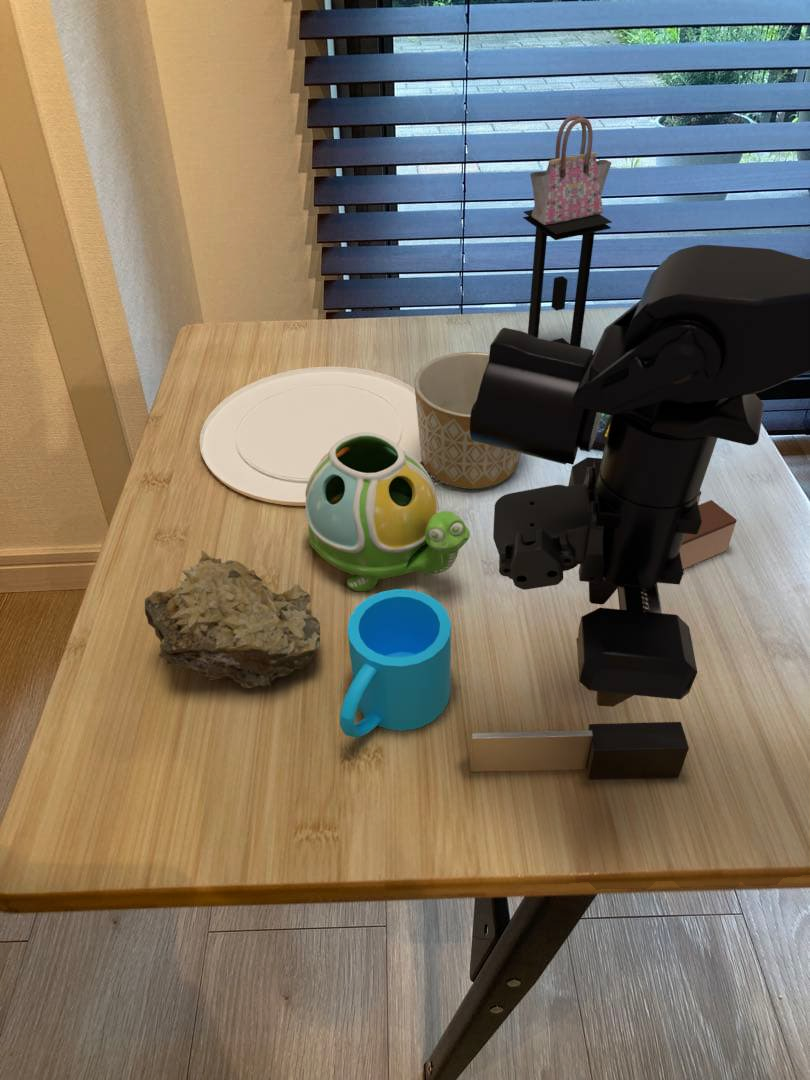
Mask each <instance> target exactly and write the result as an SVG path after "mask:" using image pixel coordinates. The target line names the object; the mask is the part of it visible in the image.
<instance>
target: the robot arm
mask: <svg viewBox="0 0 810 1080" xmlns="http://www.w3.org/2000/svg"><path fill="white" fill-rule="evenodd" d="M808 373H810V259H808V258H807V259H806V258H804V257H800V256H796V255H793V254H789V253H786V252H782V251H779V250H776V249H771V248H763V247H749V246H748V247H747V246H734V245H733V246H731V245H718V244H717V245H716V244H697V245H693V246H689V247H685V248H682V249H679V250H676V251H675V252H673V253H671V254H669V255H668V256H667V258H666V259H664V260H663V261H662V262H661V263H660V264H659V266H657V268H656V269H655V270H654V271H653V272H652V273H651V275H650V277H649V279H648V282H647V284H646V286H645V288H644V291H643V294H642V296H641V297H640V300H639V301H637V302H636V303H635V304H633V306H631V307H630V308H629V309H627V310H626V311H625V312H624V313H622V314H621V315H619V317H617V318H616V319H615V320H614V321H613V322H611V323H610V324H608V325H607V326H606V327H605V329H604V330H603V332H602V335H601V336H600V339H599V341H598V343H597V345H596V347H595V349H590V348H585V347H581V346H580V347H576V346H572V345H567V344H563V343H558V342H553V341H552V340H548V339H544V338H539V337H538V338H536V337H534V336H531V335H529V334H528V332H524V331H522V330H518V329H513V328H508V327H502V328H501V329H500V330H499V331H498V332H497V334H496V336H495V337H494V338H493V341H492V342H491V343H490V346H489V362H488V364H487V367H486V369H485V372H484V375H483V378H482V381H481V385H480V389H479V393H478V397H477V400H476V402H475V403H474V405H473V407H472V410H471V417H470V436H471V439H472V440H473V441H475V442H479V443H483V444H487V445H491V446H494V447H498V448H502V449H506V450H510V451H514V452H518V453H521V454H522V455H527V456H530V457H534V458H538V459H542V460H546V461H549V462H554V463H558V464H561V465H567V464H569V465H572V466H571V470H570V475H569V480H568V485H563V484H553V485H547V486H542V487H537V488H532V489H526V490H520V491H515V492H510V493H506V494H504V495H502V496H500V497H499V498H498V499H497V500H496V501H495V503H494V510H493V511H494V513H493V534H492V538H493V541H494V544H495V547H496V550H497V553H498V573H499V574H500V575H501V576H503V577H507V578H508V579H510V580H512V582H513V585H514V586H515V587H517V588H518V589H520V590H524V591H526V590H533V589H539V588H545V587H552V586H556V585H559V584H560V583H561V582H562V581H563V580H564V572H566V571H567V572H568V571H570V570H573V569H574V568H576V567H578V565H579V568H578V581H579V582H585V583H586V582H587V583H588V599H589V601H588V602H589V603H590V604H592V605H604V604H606V603H607V602H608V601H609V599H610V598H611V597H612V596H613V595H614V593H615V592H617V598H618V607H619V608H611V607H610V608H609V607H599V608H596V609H594V610H592V611H590V612H588V613H586V614H584V615H582V616H581V617H580V620H579V625H578V630H577V631H578V632H577V637H576V652H577V673H578V682H579V684H581V685H582V686H583V687H584V688H585V689H586V690H588V691H589V692H596V705H597V706H600V707H608V708H612V707H615V706H617V705H619V704H621V703H623V702H625V701H627V700H628V699H630V698H632V697H634V696H639V697H649V698H650V697H651V698H659V699H660V698H661V699H670V700H671V699H672V700H682V699H683V698H684V697H686V696H687V695H688V694H689V693H690V692H691V689H692V687H693V684H694V682H695V679H696V677H697V675H698V667H697V662H696V657H695V651H694V645H693V640H692V634H691V629H690V626H689V625H688V624H687V623H686V622H685V621H684V620H683V619H682V618H681V617H680V616H679V614H673V613H663V612H662V606H661V599H660V592H659V587H658V584H669V585H681V581H682V579H683V576H684V574H685V573H684V569H683V567H682V562H681V556H680V551H679V550H680V547H681V544H682V542H683V539H684V536H685V533H686V534H698V531H699V528H700V525H701V522H702V520H701V515H700V511H699V507H698V505H699V503H698V502H697V497H698V494H699V491H701V488H702V485H703V482H704V480H705V477H706V473H707V471H708V467H709V465H710V462H711V458H712V456H713V453H714V449H715V447H716V445H717V442H718V439H720V440H724V441H729V442H733V443H736V444H737V443H738V444H742V445H746V446H754V445H756V444H757V443H758V442H759V441H760V440H759V439H760V433H761V427H762V421H763V415H764V409H765V404H764V402H763V401H762V400H761V399H760V397H758V396H757V394H759V393H762V392H765V391H767V390H770V389H772V388H775V387H776V386H779V385H781V384H783V383H786V382H788V381H791V380H793V379H795V378H796V379H797V377H800V376H802V375H805V374H808ZM602 413H603V414H607V415H612V417H611V422H610V426H609V430H608V435H607V439H606V443H605V448H604V449H603V452H602V456H601V458H600V457H588V456H586V457H585V458H584V459H582V460H581V461H579V462H577V463H575V461H576V458H577V453H578V450H580V451H582V452H587V453H590V452H591V450H592V448H593V447H592V445H593V443H594V440H595V437H596V434H597V431H598V427H599V424H600V420H601V417H602Z"/></svg>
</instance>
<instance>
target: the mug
mask: <svg viewBox="0 0 810 1080" xmlns="http://www.w3.org/2000/svg"><path fill="white" fill-rule="evenodd" d="M346 629H347V639H348V646H349V655H350V656H349V657H350V665H351V674H352V682H351V684H350V685H349V688H348V689H347V692H346V693H345V696H344V699H343V701H342V705H341V708H340V712H339V713H340V714H339V726H340V728H341V730H342V732H343V734H344V735H345V736H347V737H351V738H355V739H358V738H361V737H363V736H366V735H368V734H369V733H370V732H372V731H373V730H374V729H375V728H377V726H378V727H381V728H384V729H386V730H389V731H400V732H401V731H404V732H405V731H411V730H416V729H420V728H422V727H424V726H426V725H428V724H431V723H432V722H434V721H436V720H437V718H438V717H439V716H441V714H442V713H444V711H445V709H446V707H447V705H448V704H449V701H450V694H451V656H452V655H451V653H452V651H451V650H452V621H451V619H450V615H449V613H448V611H447V609H446V608H445V607H444V606H443V604H441V602H440V601H438V600H437V599H436V598H434V597H432V596H430V595H429V594H427V593H424V592H422V591H421V592H420V591H417V590H414V589H404V588H403V589H402V588H401V589H400V588H395V589H390V590H384V591H380V592H378V593H375V594H373V595H370V596H368V597H367V598H365V599H364V600H363V601H361V602H360V603H359V604H358V605H357V606H356V607H355V608H354V610H353V611H352V613H351V614H350V616H349V620H348V624H347V628H346ZM358 710H359V711H360V712H361V714H362V715H363V717H364V718H363V719H362V720H360V721H359V722H358V723H355V722H356V715H357V712H358Z"/></svg>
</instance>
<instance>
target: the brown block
mask: <svg viewBox="0 0 810 1080" xmlns="http://www.w3.org/2000/svg"><path fill="white" fill-rule="evenodd" d="M698 507H699V511H700V515H701V520H702V522H701V525H700V528H699V531H698V534H686V533H685V536H684V539H683V542H682V544H681V547H680V550H679V551H680V556H681V562H682V567H683V570H684V569H687V568H689V567H691V566H694V565H696V564H698V563H700V562H704V561H705V560H707V559H710V558H712V557H715V556H718V555H720V554H722V553H725V552H726V551H728V549H729V546H730V543H731V540H732V536H733V533H734V530H735V528H736V523H737V521H738V520H737V518H736V517H734V516H733V515H731V514H730V513H729V512H727V511H726V510H725V509H724V508H723V507H721V506H720V505H719V504H717V503H716V502H715V501H714V500H712V499H710V500H707V501H705V502H703V503H699V504H698Z"/></svg>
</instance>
